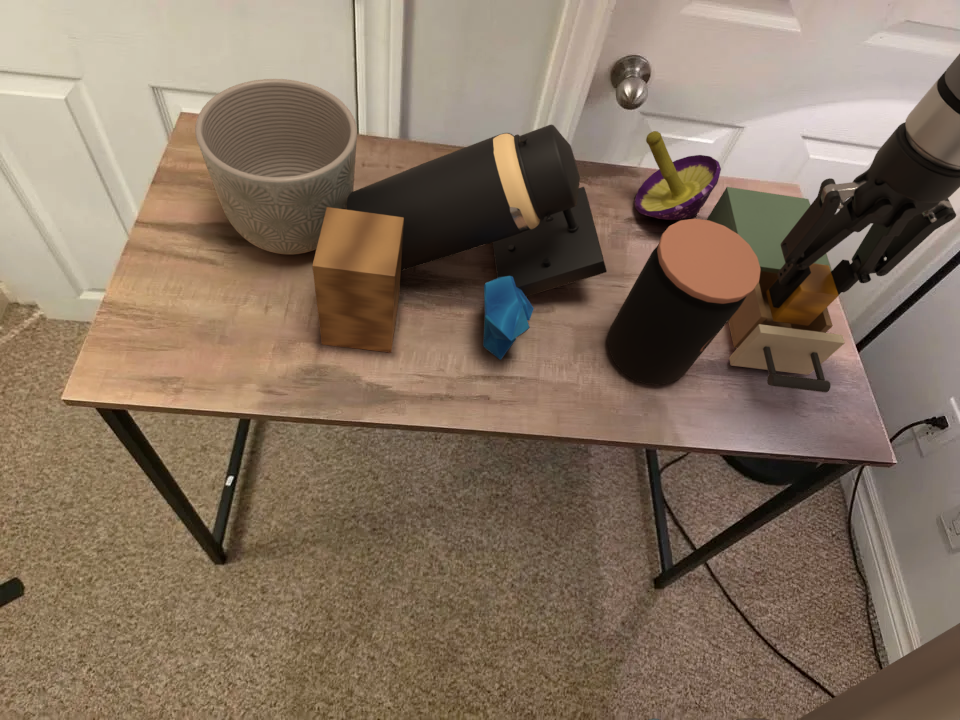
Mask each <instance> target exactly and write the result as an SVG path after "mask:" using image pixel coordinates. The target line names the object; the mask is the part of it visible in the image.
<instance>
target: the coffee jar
mask: <svg viewBox="0 0 960 720" xmlns="http://www.w3.org/2000/svg"><path fill="white" fill-rule="evenodd" d="M760 270H761V269H760V265H759V262H758V258H757V256H756V254H755V253H754V251H753V250H752V248H751V247H750V245H749V244H748V243H747V242H746V241H745V240H744V239H743V238H742V237H740V236H739V235H738V234H737V233H735V232H734V231H732V230H730V229H729V228H727V227H725V226H723V225H720V224H718V223H715V222H712V221H709V220H707V219H699V218H694V219H688V220H683V219H680V220H678V221H676V222H675V223H673V224H671V225H669V226H668V227H667V228H666V230H664V231H663V233H662V234H661V235H660V239H659V242H658V245H656V247H655V248H654V249H653V250H652V251H651V253H650V255H649V257H648V258H647V260H646V262H645V264H644V266H643V267H642V269H641V271H640V273H639V274H638V277H637V279H636V280H635V282H634V284H633V285H632V288H631V289H630V291H629V293H628V294H627V296H626V298H625V299H624V301H623V303H622V305H621V307H620V309H619V311H618V313H617V314H616V316H615V317H614V319H613V321H612V323H611V325H610V326H609V331H608V333H607V344H608V345H607V346H608V351H609V353H610V355H611V358H612V360H613V362H614V364H615V365H616V366H617V367H618V368H619V370H620V371H621V372H622V373H623V374H625V375H626V376H628V377H629V378H630V379H632V380H634V381H637V382H640V383H642V384H645V385H657V386H661V385H666V384H671V383H674V382H676V381H677V380H679V379H680V378H682V377H684V375H685V374H686V373H687V372H688V371H689V370H690V368H691V367H692V366H693V365H694V363H696V361H697V360H698V359H699V357H701V355H702V354H703V353H704V351H705V350H706V349H707V348H708V347H709V345H710V344H711V343H712V341H714V339H715V338H716V336H717V335H718V334H719V333H720V332H721V331H722V329H723V328H724V327H725V326H726V324H728V323H729V319H730V318H731V317H732V316H733V315H734V313H735V312H736V311H737V310H738V308H739V307H740V306H741V304H742V303H743V301H744V300H745V298H746V296H748V295H749V294H750V293H751V292H752V291H753V290H754V288H755V287H756V285H757V284H758V282H759V278H760Z"/></svg>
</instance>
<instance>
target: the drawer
mask: <svg viewBox="0 0 960 720" xmlns="http://www.w3.org/2000/svg"><path fill="white" fill-rule="evenodd" d="M777 274H778V273H772V272H764V271H760V278H759V282H758V284H757V285H756V287H755V288H754V290H753V291H752V292H751V293H750V294H749V295H748V296H746V298H745V300H744V301H743V303H742V304H741V306H740V307H739V308H738V310H737V311H736V312H735V313H734V315H733V316H732V317H731V318H730V319H729V321H728V325H729V326H728V327H729V331H730V336H731V340H732V341H731V342H732V346H733V348H734V349H735V350H734V352H732V354H731V355H730V356H729V357H728V359H729V363H730V366H733V367H741V368H742V367H743V368H748V369H749V368H750V369H757V370H764V371H765V370H766V371H767V373H768V375H767V378H766V384H767V386H769V387H776V388H785V389H792V390H800V391H801V390H802V391H808V392H809V391H810V392H818V393H828V392H830V390H831V386H832V385H831V382H830V381H829V380H827V379H826V378H825V377H826V376H825V375H824V371H823V367H822V364H823V363H824V362H825V361H827V360H828V359H829V358H830V357H831V356H832V355H833V354H834V353H836V352H837V351H838V350H839V349H840V348H841V347H842V346H843V345H845V344H846V342H845V338H844V335H843V334H840V333H839V334H838V333H831V332H828V331H830V329H831V328H833V326H834V325H833V322H832V318H831V315H830V312H829V309H828V307H827V308H826V309H825V310H824V311H823V312H822V313H821V314H820V315H819V316H818V317H817V318H816V319H815V320H814V321H813V322H812V323H811V324H809V325H808V326H806V325H798V324H791V323H783V322H775V321H773V318H772V314H771V310H770V306H769V302H768V298H767V294H766V292H767V290H768V289H769V288H770V287H771V286H772V285H773V283H774V282H775V281H776V280H777V279H778V275H777ZM777 372H784V373H791V374H800V375H808V376H809V375H810V374H812V373H813V372H814V374H815V376H816V377H815V378H809V377H803V376H793V375H785V374H778V373H777Z"/></svg>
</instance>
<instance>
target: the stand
mask: <svg viewBox="0 0 960 720" xmlns="http://www.w3.org/2000/svg"><path fill="white" fill-rule="evenodd" d="M403 226H404V218H403V217H396V216H389V215H382V214H374V213H367V212H360V211H353V210H345V209H338V208H331V207H327V208H326V212H325V216H324V220H323V224H322V228H321V232H320V237H319V241H318V245H317V249H316V250H315V254H314V258H313V261H312V273H313V283H314V290H315V299H316V308H317V316H318V317H317V318H318V324H319V333H320V341H321V345H323V346H331V347H339V348H347V349H348V348H350V349H358V350H366V351H373V352H374V351H375V352H383V353H384V352H385V353H392V351H393V344H394V343H393V342H394V336H395V330H396V321H397V316H398V309H399V302H400V291H401V289H400V288H401V272H402V271H401V259H402V242H403Z"/></svg>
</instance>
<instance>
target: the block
mask: <svg viewBox="0 0 960 720" xmlns="http://www.w3.org/2000/svg"><path fill="white" fill-rule="evenodd" d="M809 267H810V271H811V274H810V275H809V276H808V277H807V278H806V279H805V280H804V281H803V282H802V284H801V285H799V287H798V288H797V289H796V290H795V291H794V292H793V293H792V294H791V295H790V296H789V298H788V299H787V300H786V301H785V302H784V303H783V304H782V305H781V306H780V307H779V308H775V307H773V304H772V300H771V297H770V293H769V289H768V290H767V292H766V294H767V298H768V302H769V306H770V310H771V314H772V318H773V321H775V322H783V323H791V324H798V325H806V326H808V325H809V324H811V323H812V322H813V321H814V320H815V319H816V318H817V317H818V316H819V315H820V314H821V313H822V312H823V311H824V310H825V309H826V308H828V307H829V306H830V305H831V304H832V303H833V302H834V301H835V300H836V299H837V298H838V297H839V296H840V294H839V295H838V292H837V289H836V286H835V283H834V279H833V276H832V273H831V270H830V267H829V265H822V264H815V263H813V264H812V265H811V266H809ZM773 284H774V283H773Z"/></svg>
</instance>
